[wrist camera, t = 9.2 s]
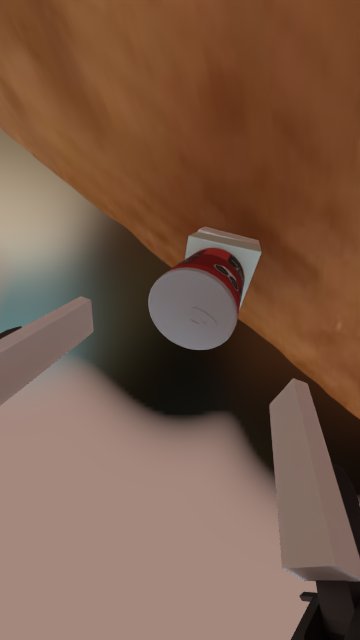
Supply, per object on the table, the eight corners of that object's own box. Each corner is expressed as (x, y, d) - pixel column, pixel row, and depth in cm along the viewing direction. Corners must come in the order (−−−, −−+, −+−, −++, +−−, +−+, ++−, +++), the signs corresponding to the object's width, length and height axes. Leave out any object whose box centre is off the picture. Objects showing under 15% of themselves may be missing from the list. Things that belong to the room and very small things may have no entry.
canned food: (238, 308, 26) (227, 360, 17) (184, 297, 28) (148, 339, 19) (252, 250, 22) (247, 278, 13) (187, 243, 24) (144, 263, 15)
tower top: (260, 244, 26) (261, 252, 22) (238, 301, 31) (237, 316, 27) (197, 231, 27) (188, 235, 23) (187, 287, 32) (178, 299, 28)
